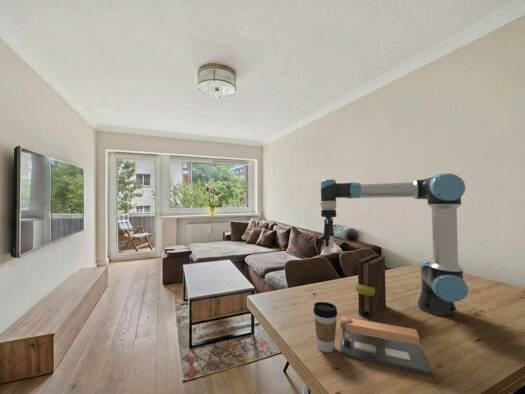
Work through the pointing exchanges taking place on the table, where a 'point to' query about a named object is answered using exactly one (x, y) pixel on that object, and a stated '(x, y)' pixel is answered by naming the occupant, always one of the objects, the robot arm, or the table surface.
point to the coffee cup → (325, 325)
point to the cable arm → (380, 330)
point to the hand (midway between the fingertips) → (329, 250)
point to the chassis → (384, 352)
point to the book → (371, 285)
